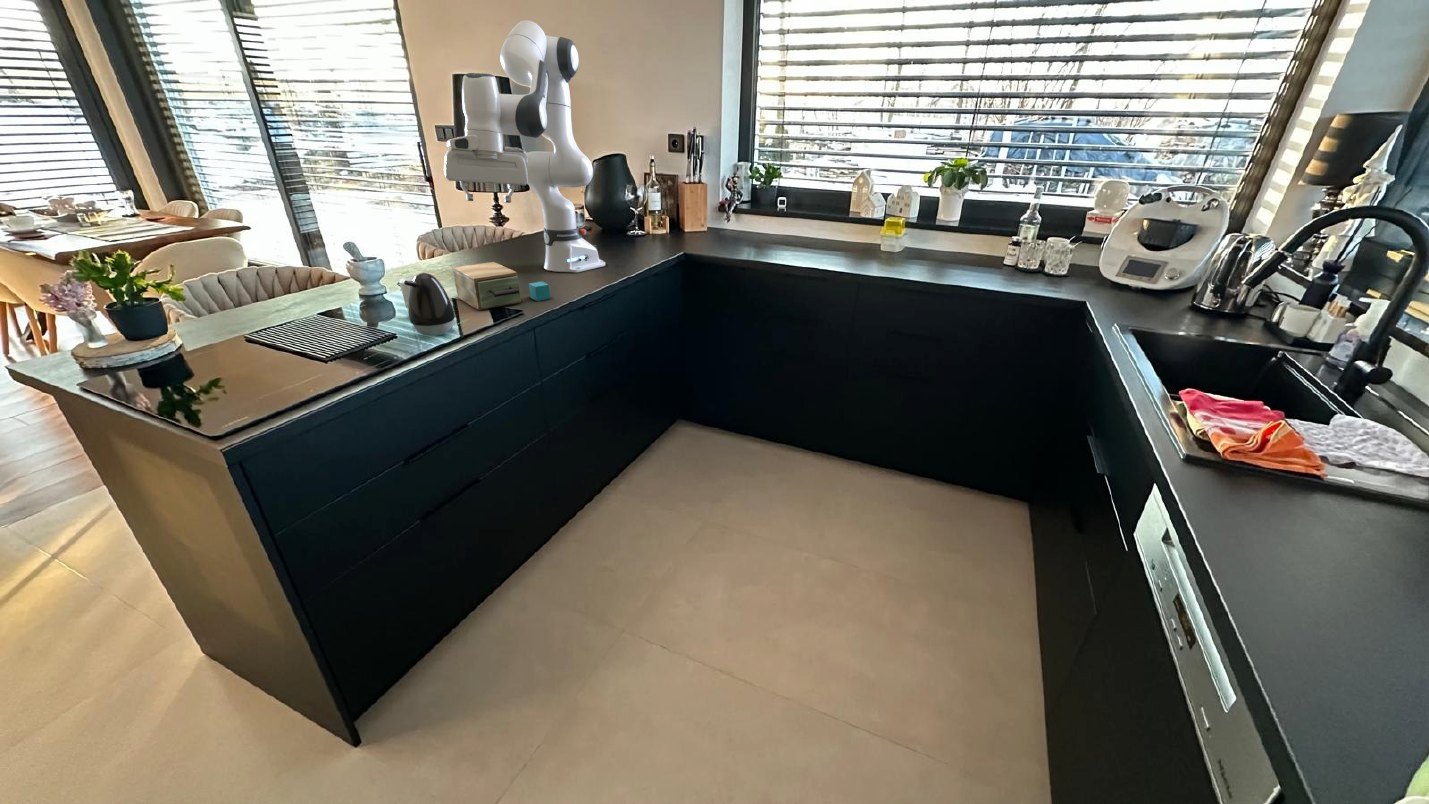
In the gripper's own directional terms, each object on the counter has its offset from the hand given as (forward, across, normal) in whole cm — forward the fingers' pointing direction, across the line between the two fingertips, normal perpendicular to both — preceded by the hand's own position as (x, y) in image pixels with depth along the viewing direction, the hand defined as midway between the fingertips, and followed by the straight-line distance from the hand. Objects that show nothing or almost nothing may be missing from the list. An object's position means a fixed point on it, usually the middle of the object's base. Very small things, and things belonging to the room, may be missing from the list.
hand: (489, 201), depth 147 cm
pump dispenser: (+32, +17, +11) cm, 38 cm away
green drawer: (+28, -1, -8) cm, 29 cm away
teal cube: (+28, -14, -9) cm, 32 cm away
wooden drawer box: (+28, 0, -12) cm, 31 cm away
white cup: (+31, +19, -4) cm, 36 cm away
